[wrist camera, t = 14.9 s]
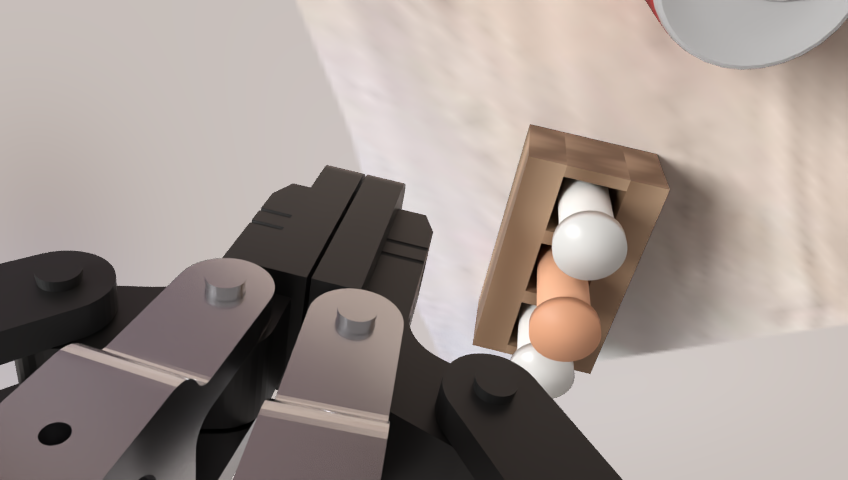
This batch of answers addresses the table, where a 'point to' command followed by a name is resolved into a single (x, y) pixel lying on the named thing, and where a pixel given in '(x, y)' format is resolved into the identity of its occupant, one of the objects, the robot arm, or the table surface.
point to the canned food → (749, 28)
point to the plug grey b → (587, 232)
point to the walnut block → (538, 218)
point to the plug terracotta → (562, 313)
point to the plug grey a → (541, 360)
